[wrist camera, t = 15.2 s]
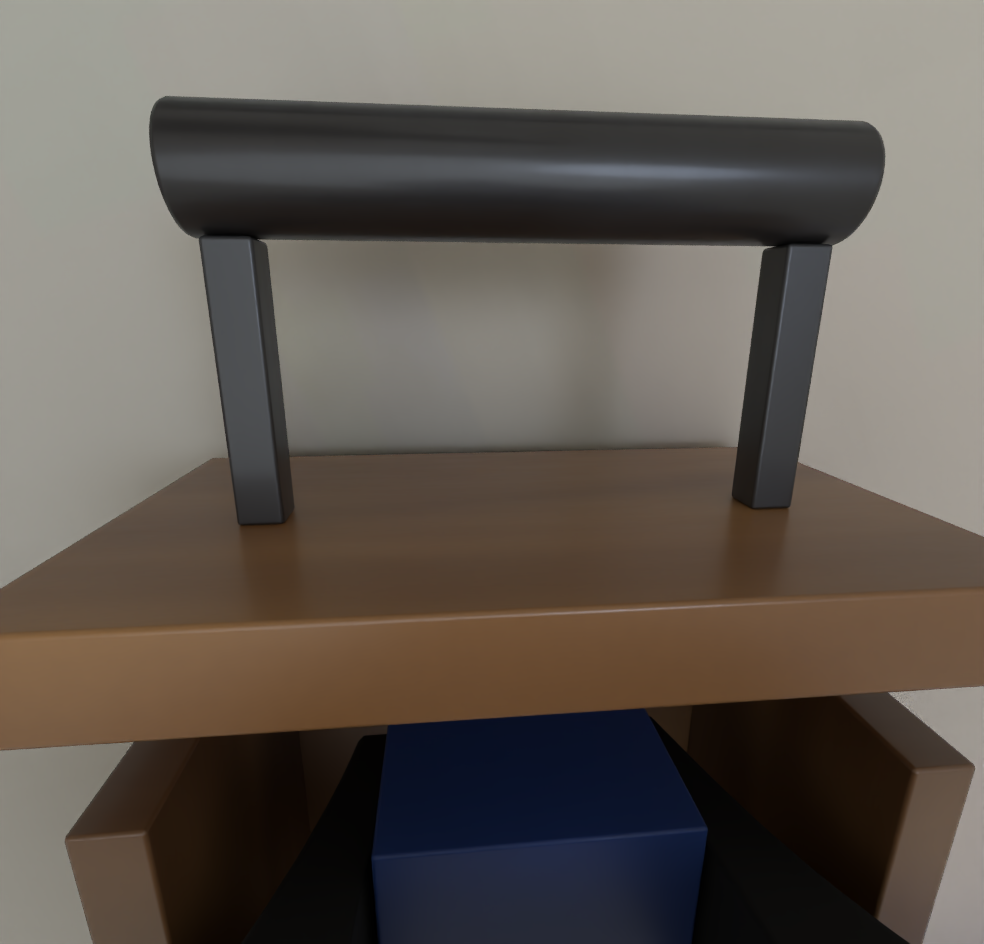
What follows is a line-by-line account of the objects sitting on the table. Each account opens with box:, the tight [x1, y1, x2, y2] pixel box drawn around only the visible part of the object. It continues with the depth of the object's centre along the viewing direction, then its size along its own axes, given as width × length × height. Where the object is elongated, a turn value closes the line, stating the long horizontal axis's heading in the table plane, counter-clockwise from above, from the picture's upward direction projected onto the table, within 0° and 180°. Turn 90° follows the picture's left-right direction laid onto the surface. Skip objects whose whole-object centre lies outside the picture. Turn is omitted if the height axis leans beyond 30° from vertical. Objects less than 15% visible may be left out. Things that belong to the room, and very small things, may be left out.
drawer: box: [0, 96, 984, 944], centre depth 9 cm, size 18×11×6 cm, turn 0°
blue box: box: [371, 708, 708, 944], centre depth 9 cm, size 4×4×4 cm
